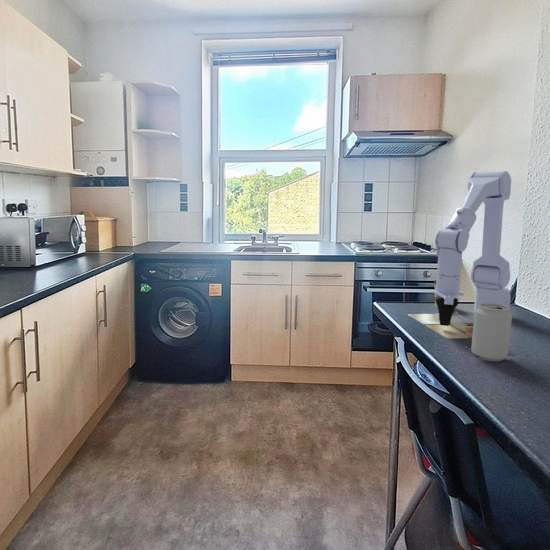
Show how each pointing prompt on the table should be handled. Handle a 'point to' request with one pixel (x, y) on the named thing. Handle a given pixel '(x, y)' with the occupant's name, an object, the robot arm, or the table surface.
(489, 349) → the can
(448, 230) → the robot arm
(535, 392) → the table surface
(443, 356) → the table surface
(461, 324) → the latch
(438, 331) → the board
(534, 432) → the table surface
